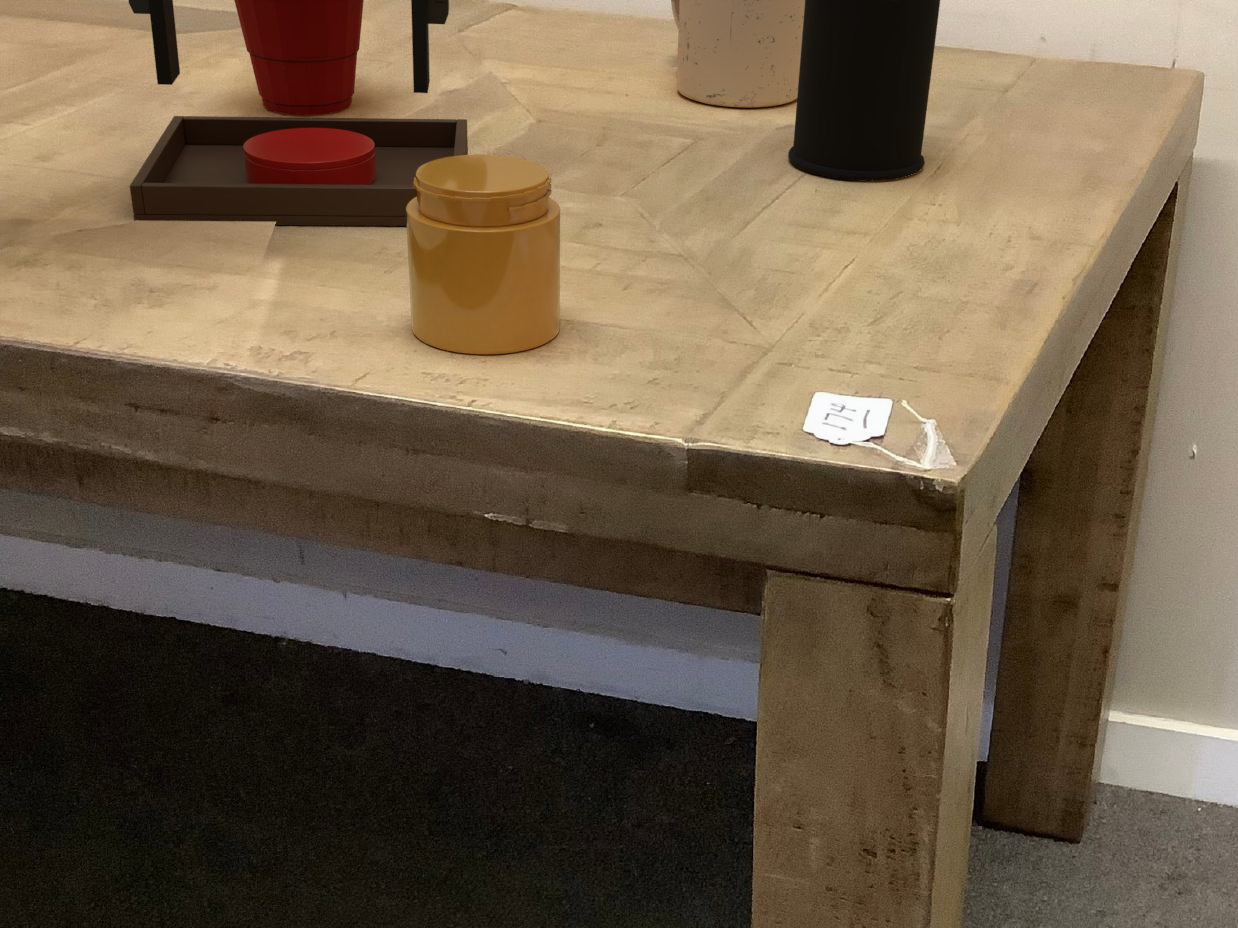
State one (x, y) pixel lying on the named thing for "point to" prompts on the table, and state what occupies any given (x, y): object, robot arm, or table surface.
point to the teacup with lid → (739, 51)
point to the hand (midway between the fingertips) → (296, 83)
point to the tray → (219, 191)
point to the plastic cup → (303, 52)
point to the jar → (484, 255)
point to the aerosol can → (864, 87)
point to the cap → (310, 157)
